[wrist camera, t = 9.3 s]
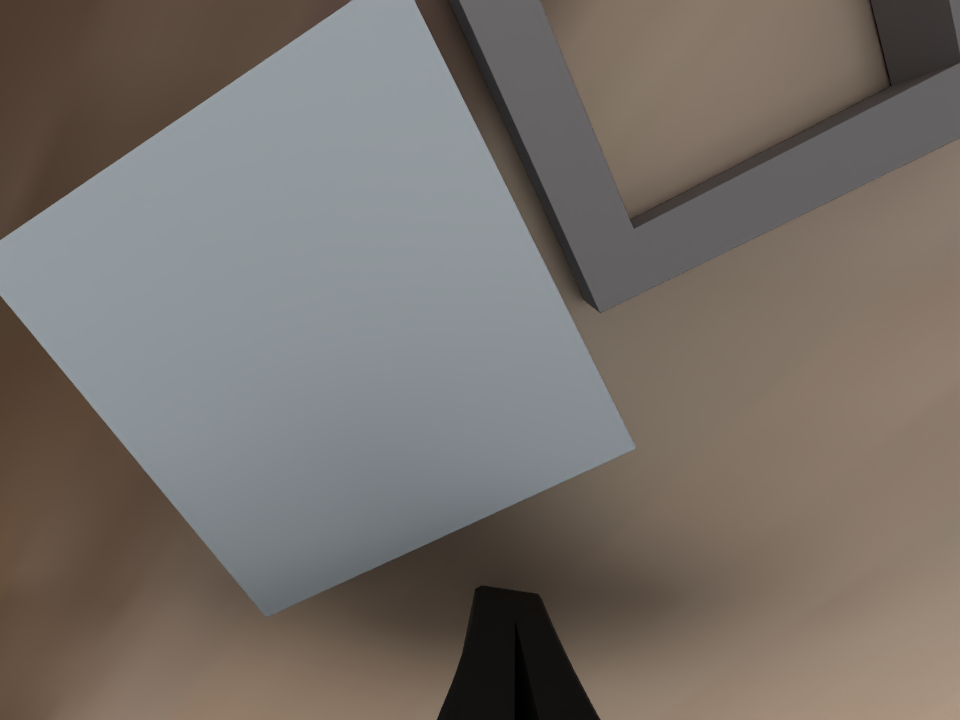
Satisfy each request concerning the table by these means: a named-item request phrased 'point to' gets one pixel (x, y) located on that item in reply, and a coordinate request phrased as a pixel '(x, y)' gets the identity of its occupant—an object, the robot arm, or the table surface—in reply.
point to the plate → (318, 313)
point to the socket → (730, 195)
